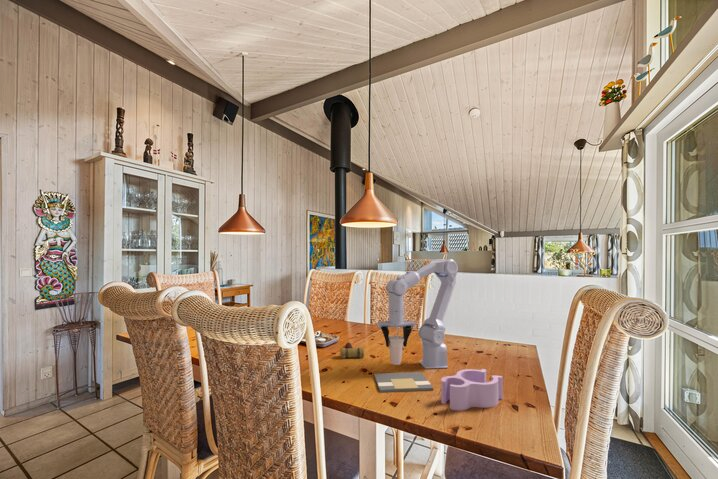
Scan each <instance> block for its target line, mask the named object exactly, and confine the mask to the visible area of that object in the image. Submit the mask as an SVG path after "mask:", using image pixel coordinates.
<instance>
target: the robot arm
mask: <svg viewBox="0 0 718 479" xmlns="http://www.w3.org/2000/svg"><path fill="white" fill-rule="evenodd" d="M458 271H459V267H458V264H457V262H456V261H455V260H454V259H451V258H450V259H443V258H442V259H441V258H436V259H434V260H431V261H430V262H429V263H427V264H426V265H424V266H422V267H420V268H419V269H417V270H406V272H405V273H404V274H402V275H399V276H397V277H396V279H394V278H393V279H390V280H388V281H387V283H386V286H385V291H386V292H387V294H388V296H387V297H388V320H385V321H377V322H376V325H377V326H376V327H377V328H378V329H381V331H382V333H383V337H384V341H385V346H386V348H389V335H390V330H389V328H397V327H398V328H402V333H403V336H402V337H404V342H403V348H404V347H407V344H408V341H409V337H410V335H411V333H412V331H413V328H416V322H415V321H413V320H412V321H411V320H410V321H409V320H405V318H404V315H405V314H404V310H405V309H404V295H405V294H406V292H407V290H409V289H410V288H412V287H414V286H416V285H418V284H419V282H420V280H421V279H423V278H425V277H427V276H429V275H431V274H435V276H436V277H437V278H438V279H439V281H440V286H439V289H438V291H437V294H436V297H435V300H434V303H433V305H432V309H431V312H430V314H429V317H428V318H427V319H425V320H424V321H423V323H422V325H421V326H420V328H419V330H418V336H419V338H420V339H421V342H422V360H419V364H420V365H421V366H422V367H423V368H424V369H426V370H427V369H428V370H429V369H448V349H447V344H445V343H444V340H445V331H446V327H445V325H444V323H443V322H444V319H445V316H446V312H447V309H448V306H449V303H450V300H451V297H452V296H453V295H452V294H453V292H454V288H455V286H456V282H457V281H456V280H457V275H458Z"/></svg>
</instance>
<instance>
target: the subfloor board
mask: <svg viewBox="0 0 718 479" xmlns="http://www.w3.org/2000/svg"><path fill="white" fill-rule="evenodd" d="M373 376H374V377H373V378H374V379H375V382H376V385H377V387H378V389H379V392H380V393H393V392H394V393H396V392H397V393H398V392H419V391H420V392H421V391H426V392H427V391H434V386H433V385H432V384H431V382H430V381H429V380H428V378H426V376H425V375H424V374H423V372H422V371H416V372H415V371H413V372H412V371H411V372H389V373H388V372H386V373H385V372H384V373H383V372H382V373H380V372H379V373H373Z"/></svg>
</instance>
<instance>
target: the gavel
mask: <svg viewBox="0 0 718 479" xmlns="http://www.w3.org/2000/svg"><path fill="white" fill-rule="evenodd" d="M339 350H340V351H339V352H340V359H342V360H343V359H346V358H347V359H351V358H353V359H354V358H355V359H357V358H359V359H363V358H364V357H365V349H364V347H363V346H358V348H357V347H353V346H352V344H351V342H346V344H345V347H340V349H339Z"/></svg>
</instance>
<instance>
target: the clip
mask: <svg viewBox="0 0 718 479" xmlns="http://www.w3.org/2000/svg"><path fill="white" fill-rule="evenodd" d="M503 377H504V376H502V375H496V374H495V375H491V381H487V369H485V368H481V369H472V368H470V369H469V368H468V369H467V368H465V369H461V370H458V371H457V372H456V374H455V375H448V376H447V375H446V376H443V377H441V379H440V389H441V390H440V391H441V392H440V393H441V394H440V395H441V396H440V398H441V399H440V402H441V404H442V405H446V404H447V402H448V401H449V409H450V410H452V411H467V410H469V409H470V408H474V407H475V408H482V409H483V408H493V407H496V406H498V405H499V400H503V399H504V388H503V386H504V384H503V382H504V381H503V380H504V378H503Z"/></svg>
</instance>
